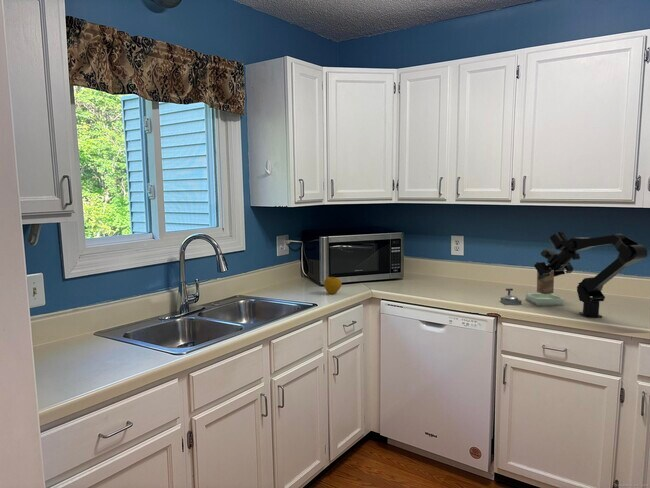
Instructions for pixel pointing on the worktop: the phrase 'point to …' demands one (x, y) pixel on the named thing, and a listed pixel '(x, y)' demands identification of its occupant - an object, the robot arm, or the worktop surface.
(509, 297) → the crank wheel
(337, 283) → the apple
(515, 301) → the crank base
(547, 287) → the block
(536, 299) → the tray
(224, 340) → the worktop surface
